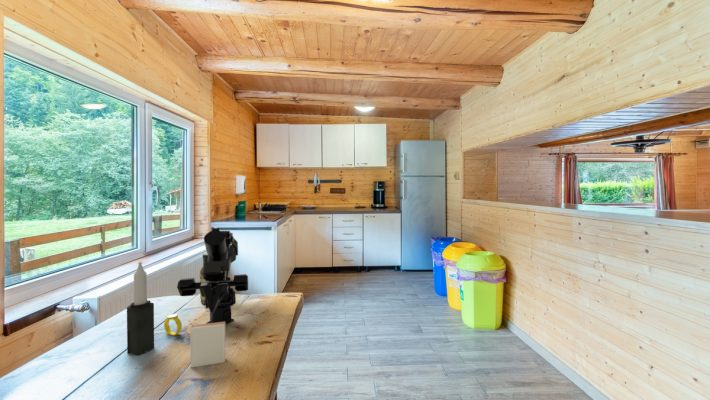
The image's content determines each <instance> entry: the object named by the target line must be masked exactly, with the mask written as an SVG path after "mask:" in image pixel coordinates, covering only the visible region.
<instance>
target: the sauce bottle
mask: <svg viewBox="0 0 710 400" xmlns="http://www.w3.org/2000/svg"><path fill="white" fill-rule="evenodd" d="M207 261H208V254H207V252H205V253H202V262H203V263H202V267H201V269H200V271H199V282H201V281H205V279H203V267H204V262H207ZM199 297H200V298H199V299H200V303H201V304H203V305H206V304H205V297H202V296H201V293H200V292H199Z"/></svg>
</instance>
